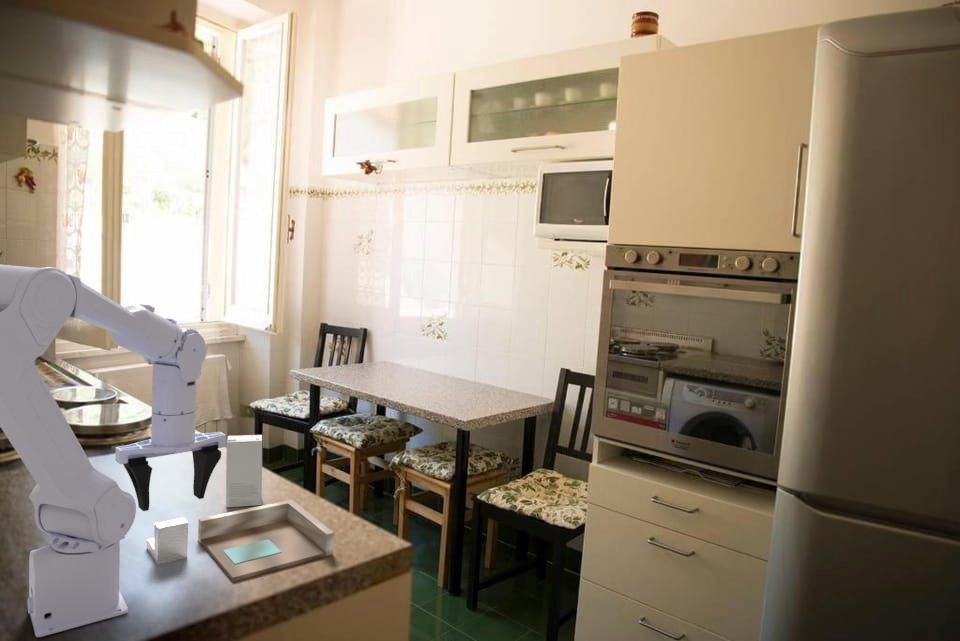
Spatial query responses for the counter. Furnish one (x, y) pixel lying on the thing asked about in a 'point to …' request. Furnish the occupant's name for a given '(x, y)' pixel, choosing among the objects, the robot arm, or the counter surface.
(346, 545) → the counter surface
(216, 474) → the counter surface
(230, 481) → the skincare box
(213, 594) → the counter surface
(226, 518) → the corner arena
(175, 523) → the aluminium bracket
